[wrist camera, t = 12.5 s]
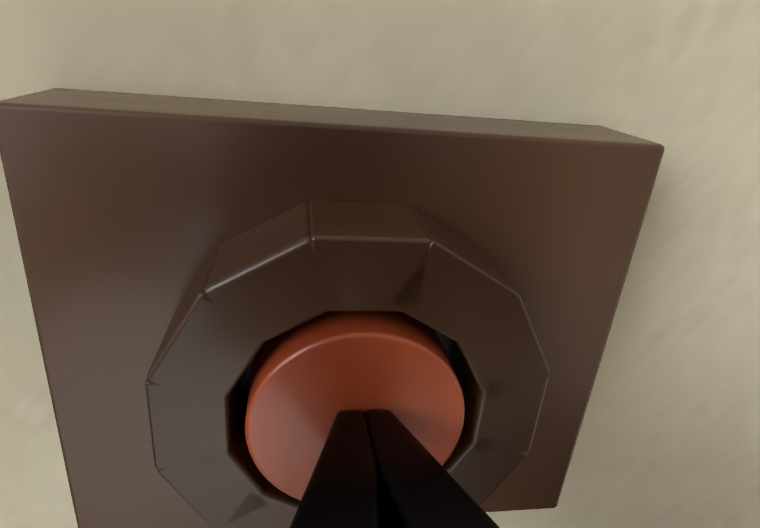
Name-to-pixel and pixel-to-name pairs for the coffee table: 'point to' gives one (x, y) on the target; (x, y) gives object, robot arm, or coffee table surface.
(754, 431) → the coffee table surface
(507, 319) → the switch box
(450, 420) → the button
